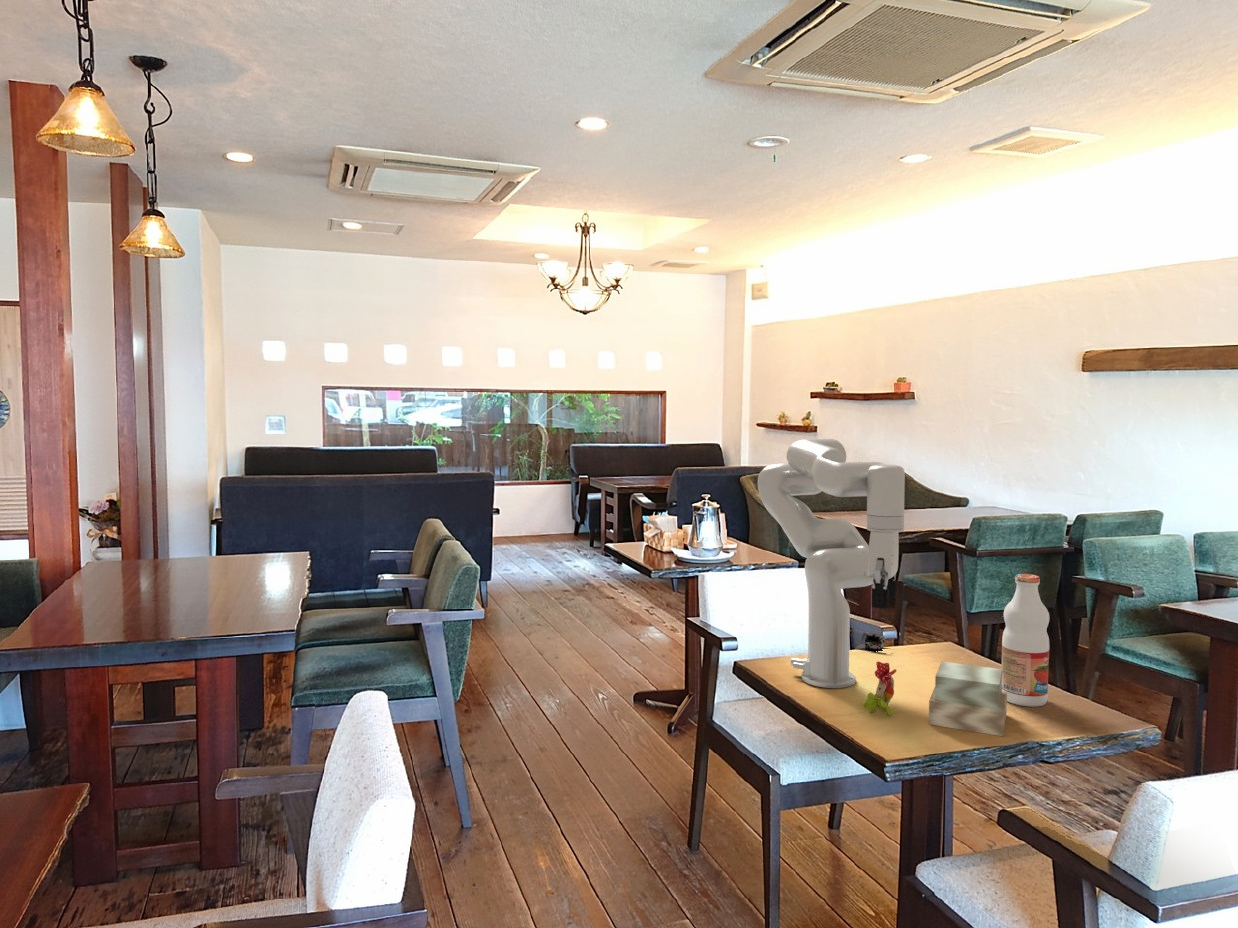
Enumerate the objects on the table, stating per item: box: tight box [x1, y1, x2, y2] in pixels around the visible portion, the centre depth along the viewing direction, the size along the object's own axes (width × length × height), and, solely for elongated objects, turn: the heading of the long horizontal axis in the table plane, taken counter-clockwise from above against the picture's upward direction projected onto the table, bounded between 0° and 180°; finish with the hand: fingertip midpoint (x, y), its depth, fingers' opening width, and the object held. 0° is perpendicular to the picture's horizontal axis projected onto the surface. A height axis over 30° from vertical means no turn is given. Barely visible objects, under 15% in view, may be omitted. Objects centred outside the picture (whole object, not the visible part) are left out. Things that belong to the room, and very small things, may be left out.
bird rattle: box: [861, 661, 897, 717], centre depth 180 cm, size 6×11×9 cm
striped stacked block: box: [928, 661, 1008, 737], centre depth 175 cm, size 14×13×10 cm
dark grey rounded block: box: [854, 632, 890, 653], centre depth 226 cm, size 12×7×5 cm, turn 56°
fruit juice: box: [1000, 573, 1050, 708], centre depth 186 cm, size 9×9×28 cm
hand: (884, 602), depth 179 cm, fingers open, 9 cm apart
